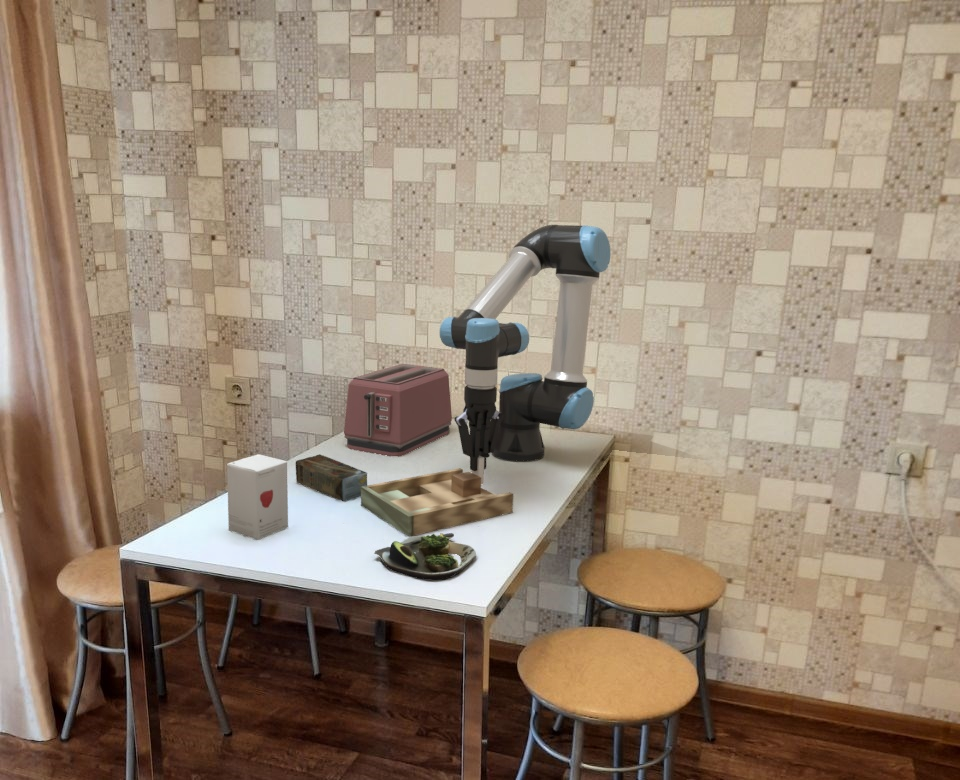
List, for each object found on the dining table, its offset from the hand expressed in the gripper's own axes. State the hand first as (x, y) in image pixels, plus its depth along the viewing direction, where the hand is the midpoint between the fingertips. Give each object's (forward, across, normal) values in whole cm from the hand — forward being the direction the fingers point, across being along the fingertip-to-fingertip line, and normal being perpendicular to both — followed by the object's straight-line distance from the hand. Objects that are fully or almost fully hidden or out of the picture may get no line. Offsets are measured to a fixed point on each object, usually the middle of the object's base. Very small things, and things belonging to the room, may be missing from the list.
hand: (477, 482), depth 192 cm
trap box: (+4, +12, 0) cm, 13 cm away
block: (+2, +3, 0) cm, 4 cm away
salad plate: (+5, +28, +23) cm, 37 cm away
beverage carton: (+5, +26, -25) cm, 36 cm away
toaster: (+5, -9, -54) cm, 55 cm away
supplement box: (+5, +50, -9) cm, 51 cm away
